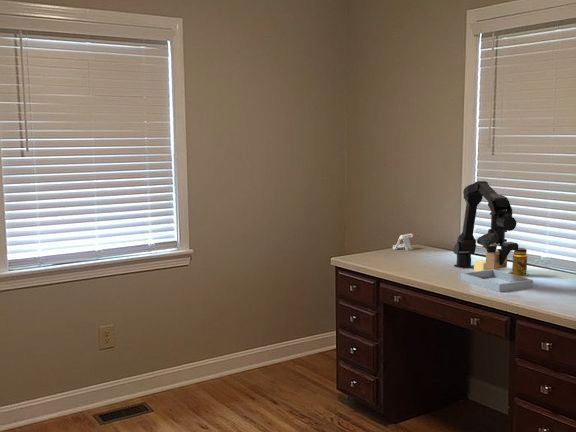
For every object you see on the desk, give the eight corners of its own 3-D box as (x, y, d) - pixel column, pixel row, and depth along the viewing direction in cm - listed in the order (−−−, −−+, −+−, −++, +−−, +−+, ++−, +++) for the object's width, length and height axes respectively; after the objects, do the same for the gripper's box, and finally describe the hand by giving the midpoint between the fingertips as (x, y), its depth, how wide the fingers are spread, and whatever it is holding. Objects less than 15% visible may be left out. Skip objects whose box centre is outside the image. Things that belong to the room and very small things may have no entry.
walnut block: (498, 265, 279) (498, 251, 279) (506, 267, 275) (507, 253, 274) (485, 266, 276) (486, 252, 276) (494, 269, 272) (494, 255, 271)
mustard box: (473, 271, 299) (474, 260, 299) (482, 270, 302) (482, 259, 301) (483, 274, 294) (483, 263, 293) (491, 273, 296) (491, 262, 296)
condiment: (525, 277, 287) (526, 250, 285) (505, 275, 291) (506, 248, 290) (528, 274, 293) (529, 247, 292) (509, 272, 297) (510, 246, 296)
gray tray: (460, 279, 283) (461, 273, 283) (492, 275, 291) (493, 269, 290) (499, 291, 262) (499, 284, 262) (532, 287, 270) (532, 279, 270)
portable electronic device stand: (403, 247, 359) (403, 232, 358) (414, 249, 353) (414, 234, 352) (392, 249, 354) (392, 234, 353) (404, 251, 348) (404, 235, 347)
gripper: (467, 225, 278) (466, 261, 280) (499, 231, 261) (497, 270, 264) (487, 223, 283) (486, 258, 285) (520, 229, 266) (518, 267, 268)
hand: (496, 263), depth 275 cm, fingers closed on walnut block, 5 cm apart
